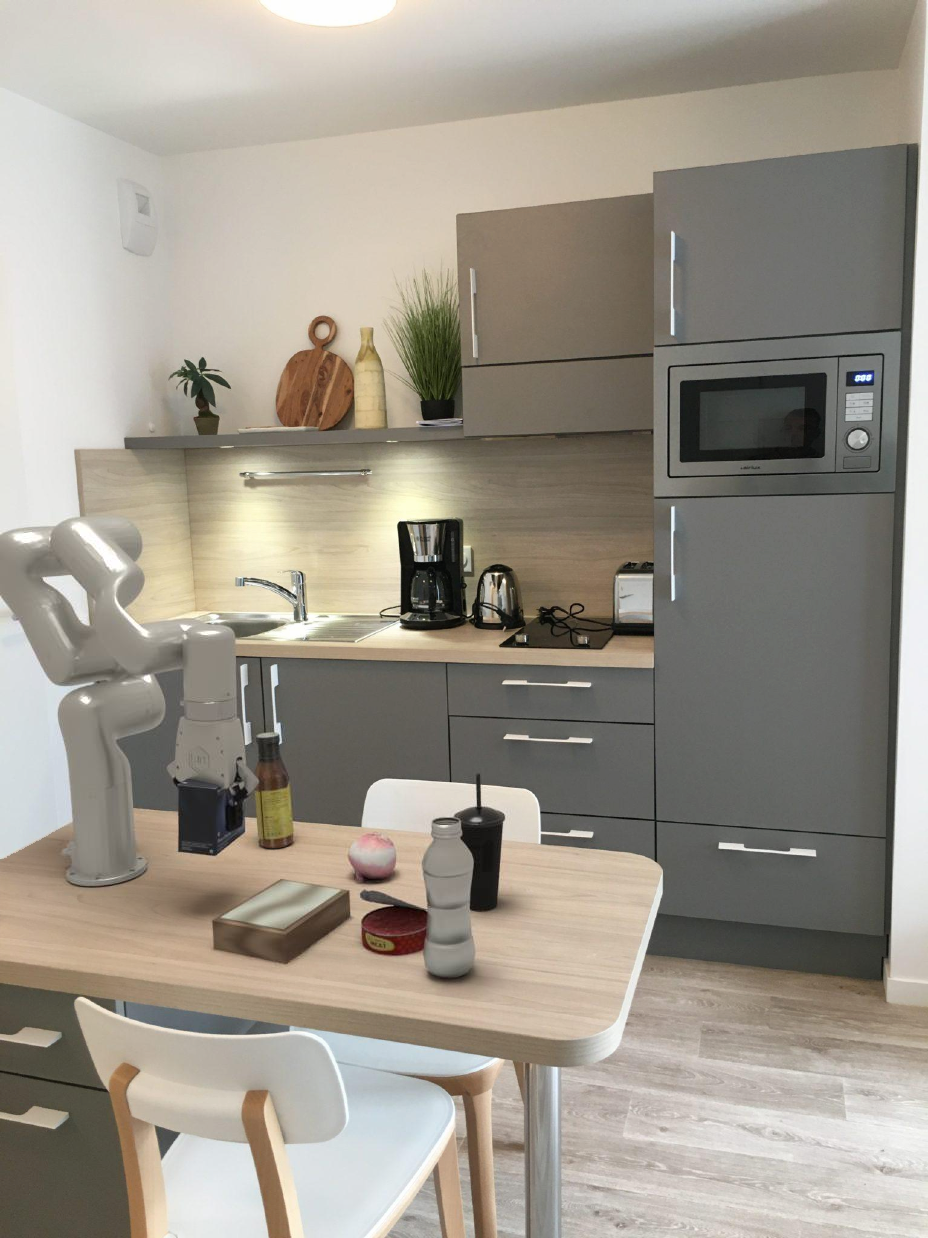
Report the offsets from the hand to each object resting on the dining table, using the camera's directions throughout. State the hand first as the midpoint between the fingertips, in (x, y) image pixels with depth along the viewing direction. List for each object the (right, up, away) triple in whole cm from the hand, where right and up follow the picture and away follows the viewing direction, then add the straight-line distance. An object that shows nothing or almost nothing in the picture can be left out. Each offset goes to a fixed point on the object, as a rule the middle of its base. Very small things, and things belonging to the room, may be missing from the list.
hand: (213, 823), depth 150 cm
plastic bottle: (+36, -15, -22) cm, 44 cm away
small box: (0, -3, 0) cm, 3 cm away
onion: (+23, -11, +12) cm, 28 cm away
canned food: (+28, -14, -12) cm, 34 cm away
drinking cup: (+40, -12, -1) cm, 42 cm away
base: (+12, -14, -9) cm, 20 cm away
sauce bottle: (+4, -10, +28) cm, 30 cm away
